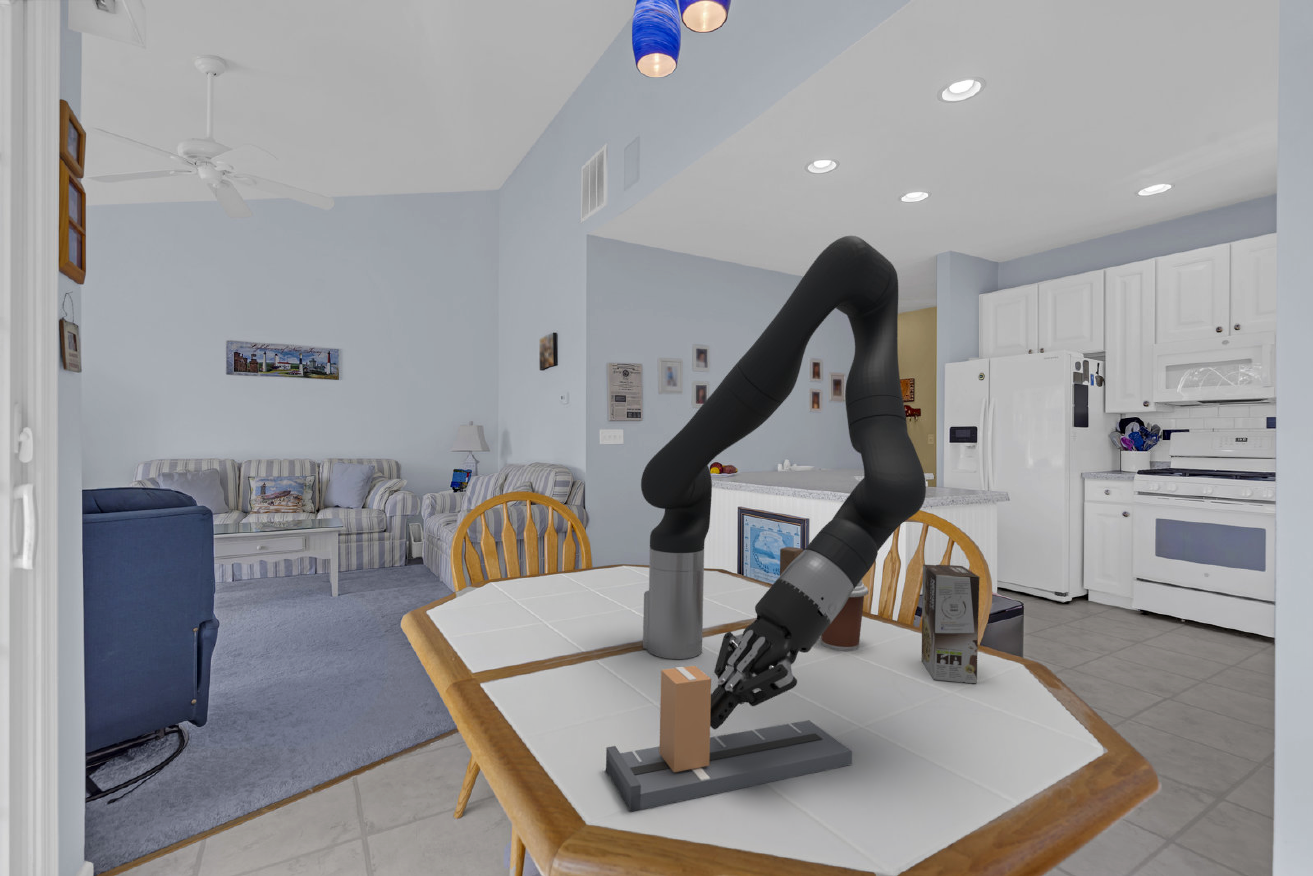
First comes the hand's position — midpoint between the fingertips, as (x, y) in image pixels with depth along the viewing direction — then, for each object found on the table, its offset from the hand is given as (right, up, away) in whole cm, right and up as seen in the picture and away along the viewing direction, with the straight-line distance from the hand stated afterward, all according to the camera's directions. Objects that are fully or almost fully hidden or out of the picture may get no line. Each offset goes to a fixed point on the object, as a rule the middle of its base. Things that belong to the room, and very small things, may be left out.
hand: (706, 722), depth 67 cm
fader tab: (-2, -4, -1) cm, 4 cm away
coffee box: (+41, -7, +31) cm, 51 cm away
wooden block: (+22, -6, +52) cm, 57 cm away
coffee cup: (+27, -6, +43) cm, 51 cm away
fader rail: (+3, -5, +1) cm, 6 cm away
